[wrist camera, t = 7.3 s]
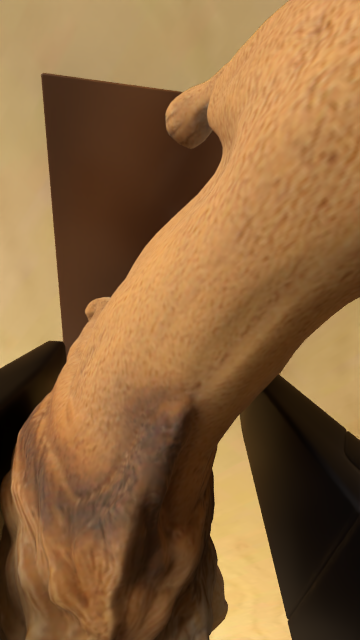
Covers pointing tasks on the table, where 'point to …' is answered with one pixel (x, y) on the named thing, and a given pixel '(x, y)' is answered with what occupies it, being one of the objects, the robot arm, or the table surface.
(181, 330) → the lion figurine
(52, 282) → the table surface
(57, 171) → the walnut board
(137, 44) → the table surface
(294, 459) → the robot arm
